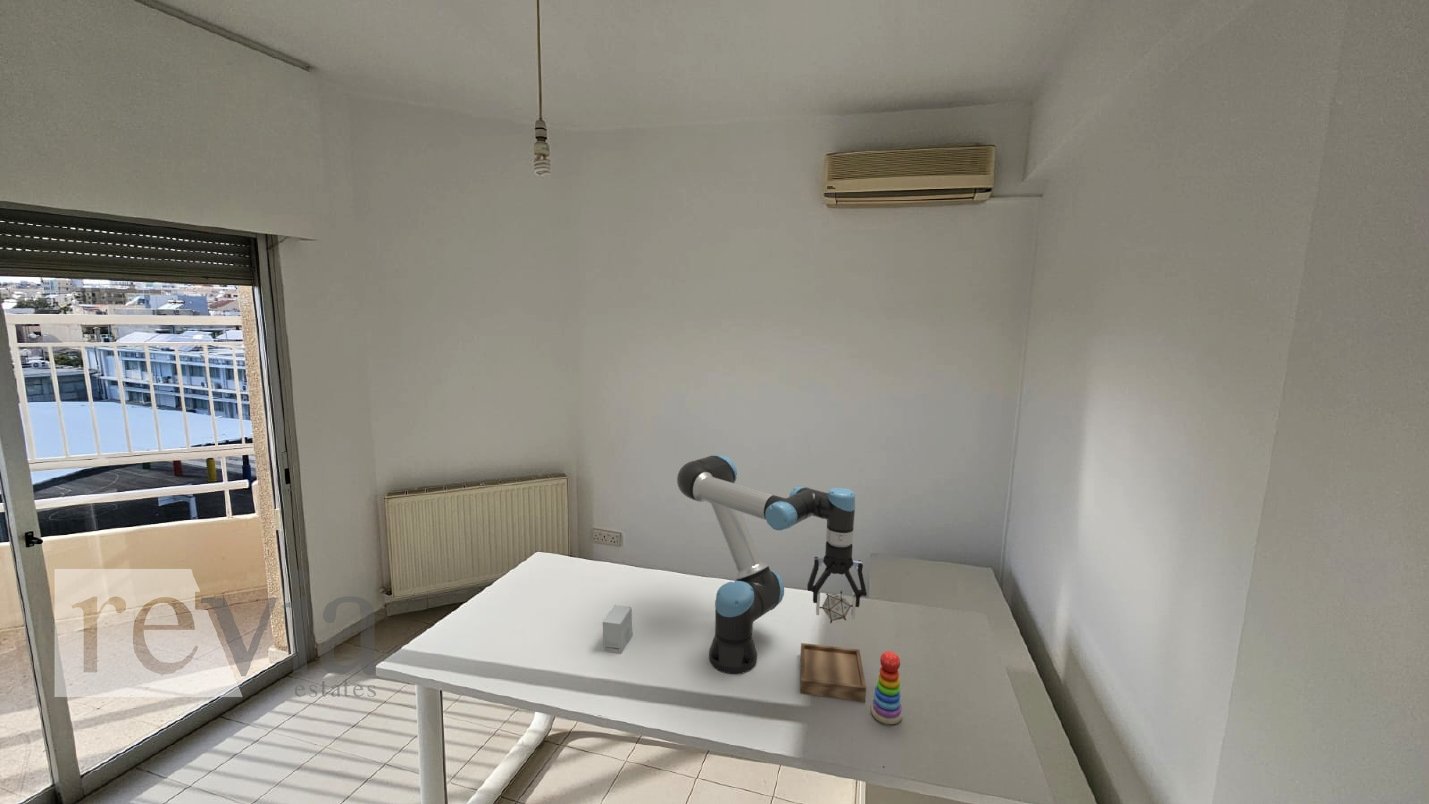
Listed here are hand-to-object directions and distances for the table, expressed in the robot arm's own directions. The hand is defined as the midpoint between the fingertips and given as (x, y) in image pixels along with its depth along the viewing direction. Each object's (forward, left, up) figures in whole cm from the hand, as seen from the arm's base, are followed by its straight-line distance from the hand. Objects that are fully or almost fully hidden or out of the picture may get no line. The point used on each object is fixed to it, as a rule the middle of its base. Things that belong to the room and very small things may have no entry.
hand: (835, 614), depth 158 cm
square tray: (0, 0, -20) cm, 20 cm away
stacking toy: (+14, -13, -21) cm, 28 cm away
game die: (0, 0, -2) cm, 2 cm away
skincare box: (-68, +4, -21) cm, 71 cm away
